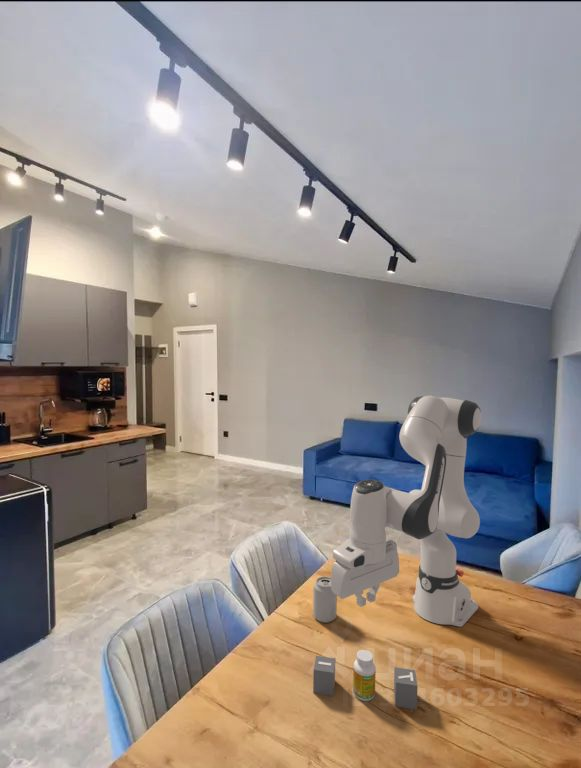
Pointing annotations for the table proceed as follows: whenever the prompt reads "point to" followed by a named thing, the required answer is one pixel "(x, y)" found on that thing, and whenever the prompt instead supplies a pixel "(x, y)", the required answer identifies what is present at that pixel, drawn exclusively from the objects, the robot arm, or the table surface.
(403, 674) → the letter t block
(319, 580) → the can
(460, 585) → the robot arm
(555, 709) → the table surface
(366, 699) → the supplement bottle
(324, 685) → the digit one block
